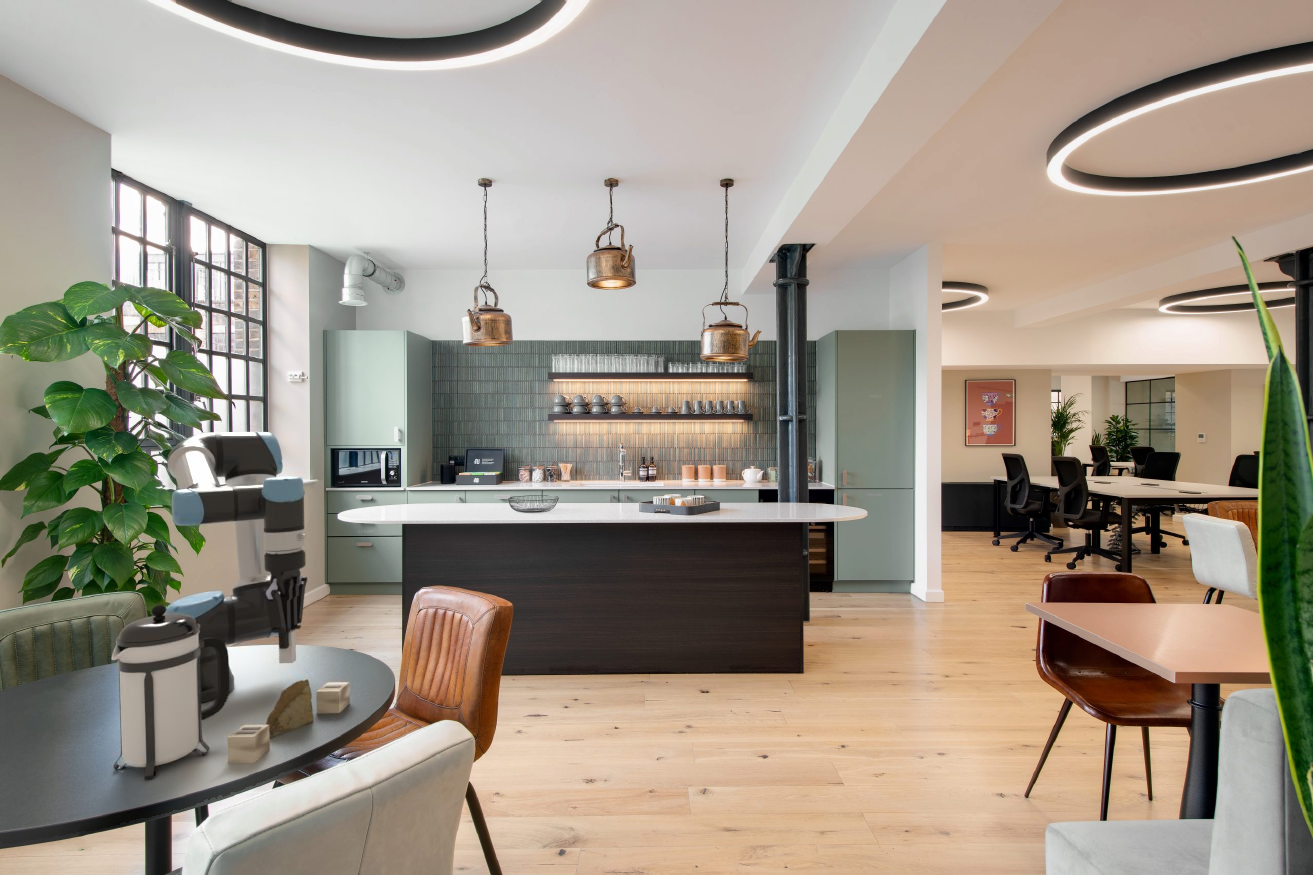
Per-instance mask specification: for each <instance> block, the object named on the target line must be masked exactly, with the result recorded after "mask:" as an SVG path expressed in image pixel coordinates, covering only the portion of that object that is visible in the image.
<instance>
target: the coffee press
mask: <svg viewBox="0 0 1313 875" xmlns="http://www.w3.org/2000/svg"><path fill="white" fill-rule="evenodd" d="M166 608H167V607H166V606H165V605H164V604H157V605H154V606H153V607H152V608H151V611H150V613H151V614H152V615H151V616H147V617H144V618H140V619H137V620H134V621H133V622H130V623H128V624H127V625H126V626H124V628H122V629H121V631H120V633H119V634H118V636H117V637H116V639H115V644H116V645H115V647H114V649H113V651H112V655H111V661H116V660H117V669H118V682H119V684H118V687H119V692H118V693H119V721H120V722H119V724H120V725H119V726H120V727H119V728H120V755H119V757H118V758H117V760H116V761H115V762H114V764H113V768H114V770H116V771H119V770H122V769H123V768H124V767H125V766H126V765H128V766H129V767H133V768H144V775H143V778H144V781H145V780H152V779H155V778H156V775H157V770H158V768H159V766H160V765H165V764H168V763H172V762H174V761H176V760H179V759H182V758H183V757H185V756H187V755H189V754H190V753H195V754H197V755H198V756H201V757H203V756H206V755H207V754H208V753H209V751H210V749H211V748H210V746H209V745H208V744H207V743H206V742H205V741H204V739H203V721H204V720H207V719H209V718H211V717H212V716H214V715H216V714H217V713H218V712H220V711H221V710H222V709H223V708H224V706H225V704H226V703H227V701H228V697H229V694H230V692H229V667H230V663H229V662H230V661H229V660H230V659H229V651H228V648H227V645H225V644H224V642H222V641H221V640H220V639H217V638H203V639H202V640H199V641H198V633H199V632H200V630H201V626H200V624H198V623H197V621H196V620H195V619H194V618H193V617H191V616H189V615H185V614H165V612H166V610H167V609H166ZM206 647H213V648H214V649H215V651H216V653H217V666H218V696H217V698H216V699H215V701H214V702H213V704H211V705H210V706H209V707H207V708H204V709H203V710H202V703H201V676H200V648H206ZM199 744H200V745H201V746H202V747H203V748H204V749H205V750H206V751H202V750H200V749H199V748H197V747H198V746H199ZM121 758H122V761H123V762H124V764H123V765H119V764H118V762H119V760H120V759H121Z"/></svg>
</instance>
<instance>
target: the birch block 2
mask: <svg viewBox="0 0 1313 875" xmlns="http://www.w3.org/2000/svg"><path fill="white" fill-rule="evenodd" d="M350 694H351V693H350V682H349V681H347V682H346V681H344V682H343V681H342V682H340V681H339V682H332V681H331V682H326V683H325V684H323V686H321V687H320V688H319V689H318V690H316V693H315V697H316V700H315V701H316V714H340V713H341V712H342V711H343V710H345V708H347V707H348V706H349V705H350V703H351V701H350V699H351V698H350Z"/></svg>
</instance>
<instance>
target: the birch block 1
mask: <svg viewBox="0 0 1313 875" xmlns="http://www.w3.org/2000/svg"><path fill="white" fill-rule="evenodd" d="M226 739H227V740H226V741H227V745H226V746H227V764H244V763H246V764H247V763H248V764H249V763H250V764H251V763H256V762H257V761H258V760H259V759H260V758H262V757H263V756H264V755H265V754H266V753H268V752H269V751H270V748H271V747H270V745H271V744H270V738H269V725H266V724H244V725H242V726H240V727H238V729H237V730H234V732H232V733H231V734H229V735H228V736H227V737H226Z"/></svg>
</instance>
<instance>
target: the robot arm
mask: <svg viewBox="0 0 1313 875" xmlns="http://www.w3.org/2000/svg"><path fill="white" fill-rule="evenodd" d="M283 464H284V463H283V455H282V449H281V446H280V444H279V440H278V439H277V437H276V436H275V434H273V433H271V432H267V431H261V432H260V431H254V430H253V431H236V432H234V431H233V432H231V431H230V432H225V431H224V432H223V431H222V432H214V431H213V432H211V431H210V432H203V433H198V434H195V435H191V436H189V437H187V438H184V439H183V440H181V441H180V442H178V443H177V444H176V445H175V446H174V447H173V448H172V449H171V451H170V452H169V454H168V455H167V459H166V465H167V469H168V472H169V473H170V475H171V476H172V477H173V478H174V479H176V480H175V481H176V484H177V487H178V489H177V490H174V491H173V493H172V494H171V516H172V522H173V524H174V525H176V526H180V527H181V526H193V527H195V526H199V525H210V524H211V525H212V524H221V523H223V524H224V523H229V522H230V523H233V522H234V527H235V538H236V539H235V541H236V554H237V568H238V582H237V583H236V584H235V585H234V586H233V587H232V595H227V596H225V593H224V592H223V591H221V590H213V591H212V590H211V591H203V592H199V593H194V594H192V595H188V596H184V597H182V598H179V599H177V600H175V601H173V602H171V603H170V604H168V605H167V607H166V609H167V610H166V612H165V613H164V614H185V615H189V616H191V617H193V618H194V619H195V620H196V621H197V623H198V624H200V626H201V630H200V632H199V633H198V641H199V640H202V639H203V638H217V639H220V640H221V641H222V642H224V644H225V645H226V646H229V645H233V644H238V643H240V644H241V643H243V642H244V643H245V642H250V641H256V640H261V639H270V638H271V637H275V636H278V661H279V664H294V662H297V649H296V648H297V647H296V646H297V645H296V644H297V640H296V630H300V629H301V627H302V625H301V623H302V622H303V613H304V602H305V593H306V585H307V583H308V577H307V576H301V570H302V569H303V568H305V566H306V550H304V549H303V548H304V547H305V546H306V543H305V542H306V541H305V539H306V538H307V535H306V534H305V494H306V491H305V490H304V480H303V479H302V477H299V476H277V475H280V474H281V473H282V472H283V468H284V467H283V466H284V465H283ZM218 478H224V482H225V485H226V486H221V483H220V481H219V479H218ZM300 569H301V570H300ZM299 624H300V625H299ZM200 676H201V704H204V703H206V702H210V701H213V700H216V699H217V696H218V666H217V653H216V651H215V649H214V648H213V647H206V648H200ZM234 689H235V676H234V674H233V672H232V669H231V667H230V666H229V693H230V692H232V691H233V690H234Z"/></svg>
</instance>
